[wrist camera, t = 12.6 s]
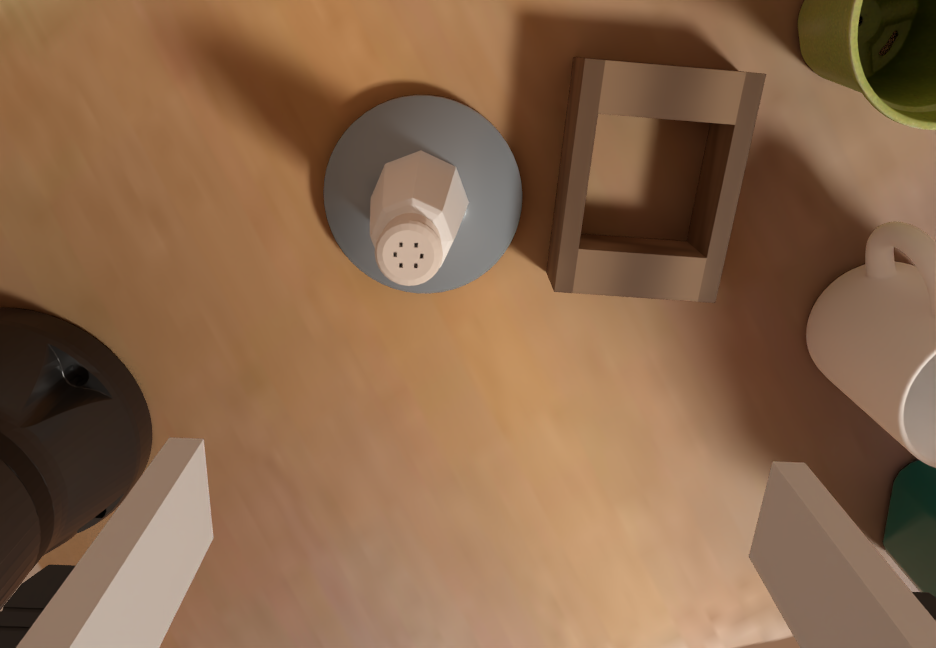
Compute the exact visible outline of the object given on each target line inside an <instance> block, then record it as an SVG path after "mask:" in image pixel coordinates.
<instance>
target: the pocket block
mask: <svg viewBox="0 0 936 648" xmlns="http://www.w3.org/2000/svg"><path fill="white" fill-rule="evenodd" d="M765 77H766V74H761V73H751V72H741V71H730V70H718V69H707V68H695V67H683V66H672V65H660V64H648V63H636V62H625V61H613V60H601V59H590V58H578V57H574V58H573V66H572V74H571V82H570V90H569V98H568V106H567V114H566V122H565V129H564V137H563V145H562V153H561V161H560V169H559V177H558V185H557V193H556V201H555V209H554V217H553V224H552V232H551V240H550V248H549V256H548V264H547V272H546V273H547V275H548V278H549V280H550V282H551V285H552V287H553V290H554V292H564V293H579V294H593V295H608V296H622V297H637V298H651V299H666V300H680V301H695V302H709V303H715V302H716V297H717V293H718V288H719V284H720V279H721V275H722V270H723V266H724V261H725V257H726V252H727V248H728V244H729V239H730V235H731V230H732V226H733V221H734V217H735V212H736V208H737V203H738V199H739V194H740V190H741V185H742V181H743V176H744V172H745V167H746V163H747V158H748V154H749V149H750V145H751V140H752V136H753V131H754V127H755V122H756V118H757V113H758V109H759V104H760V100H761V95H762V91H763V86H764V82H765ZM598 114H609V115H621V116H634V117H646V118H658V119H670V120H683V121H695V122H707V123H710V128H709V133H708V138H707V143H706V148H705V153H704V158H703V163H702V168H701V173H700V178H699V183H698V188H697V193H696V198H695V203H694V208H693V213H692V218H691V223H690V228H689V233H688V238H687V241H675V240H662V239H648V238H635V237H621V236H607V235H594V234H581V229H582V222H583V215H584V208H585V201H586V194H587V187H588V180H589V173H590V166H591V159H592V152H593V145H594V138H595V131H596V124H597V117H598Z"/></svg>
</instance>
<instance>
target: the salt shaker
mask: <svg viewBox="0 0 936 648" xmlns="http://www.w3.org/2000/svg"><path fill="white" fill-rule="evenodd" d="M468 203H469V201H468V199H467V196H466V193H465V190H464V188H463V185H462V182H461V179H460V177H459V174H458V171H457V168H456V167H455V166H453V165H451V164H449V163H447V162H445V161H443V160H440V159H438V158H436V157H434V156H432V155H430V154H428V153H426V152H423V151H421V150H420V151H418V152H415V153H412V154H410V155H407V156H404V157H402V158H399V159H396V160H394V161H391V162H388V163H386V164H385V165H384V168H383V170H382V172H381V175H380V177H379V179H378V182H377V184H376V187H375V189H374V191H373V194H372V196H371V200H370V237H371V240H372V243H373V245H374V248H375V259H376V263H377V265H378V267H379V269H380V271H381V272H382V273H383V274H384V276H386V277H387V278H388V279H389V280H391V281H393V282H395V283H397V284H399V285H405V286H414V285H419V284H422V283H425V282H426V281H428V280H429V279H431V278H432V277H433V276H434V275H435V274H436V273H437V271H438V270H439V268H440V267H441V266H442V264H443V262H444V260H445V258H446V256H447V254H448V251H449V249H450V247H451V245H452V243H453V241H454V239H455V237H456V234H457V232H458V229H459V227H460V224H461V221H462V219H463V216H464V214H465V211H466V209H467V206H468Z"/></svg>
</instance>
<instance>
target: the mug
mask: <svg viewBox="0 0 936 648" xmlns="http://www.w3.org/2000/svg"><path fill="white" fill-rule="evenodd" d="M894 247H895V248H897V249H899V250H901V251H902V252H903V253H904V254H905V255H907V256H908V257H909V258H910V260H911V261H912V262H913V263H914V264H915V266H913V265H910V264H906V263H902V262H895V261H894ZM806 341H807V347H808V351H809V354H810V356H811V358H812V360H813V361H814V363H815V364H816V366H817V368H818V369H819V370H820V371H821V372H822V373H823V374H824V375H825V376H826V377H827V378H828V379H829V380H830V381H831V382H832V383H833V384H834V385H835V386H836V387H838V388H839V389H840V390H841V391H842V392H843V393H844V394H845V395H846V396H848V397H849V398H850V399H851V400H852V401H853V402H854V403H855V404H857V405H858V406H859V407H860V408H861V409H862V410H863V411H864V412H865V413H867V414H868V415H869V416H870V417H871V418H872V419H873V420H874V421H876V422H877V423H878V424H879V425H880V426H881V427H882V428H883V429H884V430H886V431H887V432H888V433H889V434H890V435H891V436H892V437H893V438H895V439H896V440H897V441H898V442H899V443H900V444H901V445H902V446H903V447H905V448H906V449H907V450H908V451H909V452H910V453H911V454H912V455H914V456H915V457H916V458H917V459H919V460H920V461H922V462H923V463H925V464H927V465H929V466H932V467H934V468H936V241H935V240H934V239H933V238H931V237H930V236H929V235H928V234H927V233H925V232H924V231H922V230H921V229H919V228H917V227H915V226H913V225H911V224H907V223H903V222H888V223H884V224H882V225H880V226H879V227H877V228H876V229H874V231H873V232H872V233H871V235H870V236H869V238H868V241H867V244H866V251H865V264H864V265H862V266H859V267H856V268H854V269H852V270H850V271H848V272H846V273H844V274H843V275H841V276H840V277H838V278H837V279H836V280H835V281H833V282H832V283H831V284H830V285H829V286H828V287H827V288H826V289H825V290H824V291H823V292H822V294H821V295H820V296H819V298H818V299H817V301H816V302H815V304H814V306H813V308H812V310H811V312H810V315H809V319H808V323H807V328H806Z"/></svg>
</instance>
